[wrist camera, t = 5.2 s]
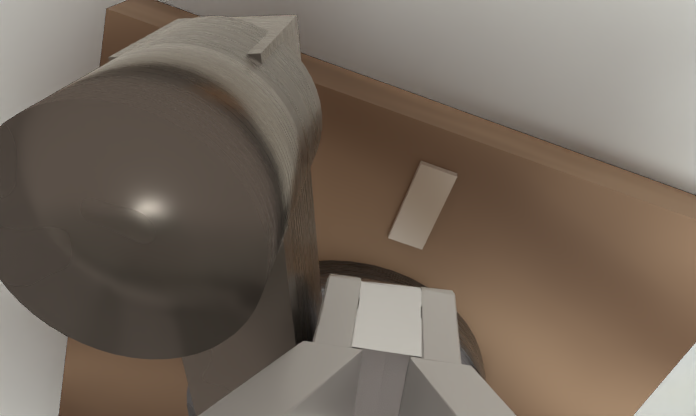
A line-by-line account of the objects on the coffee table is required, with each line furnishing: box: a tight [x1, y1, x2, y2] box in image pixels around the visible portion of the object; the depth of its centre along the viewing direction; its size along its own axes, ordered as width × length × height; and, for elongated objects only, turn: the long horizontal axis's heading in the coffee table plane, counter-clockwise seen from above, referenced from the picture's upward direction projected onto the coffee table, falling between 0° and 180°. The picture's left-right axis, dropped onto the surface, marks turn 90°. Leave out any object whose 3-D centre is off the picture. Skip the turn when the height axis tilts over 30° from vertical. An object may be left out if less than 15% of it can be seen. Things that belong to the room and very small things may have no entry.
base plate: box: [59, 0, 696, 416], centre depth 20 cm, size 18×18×2 cm
